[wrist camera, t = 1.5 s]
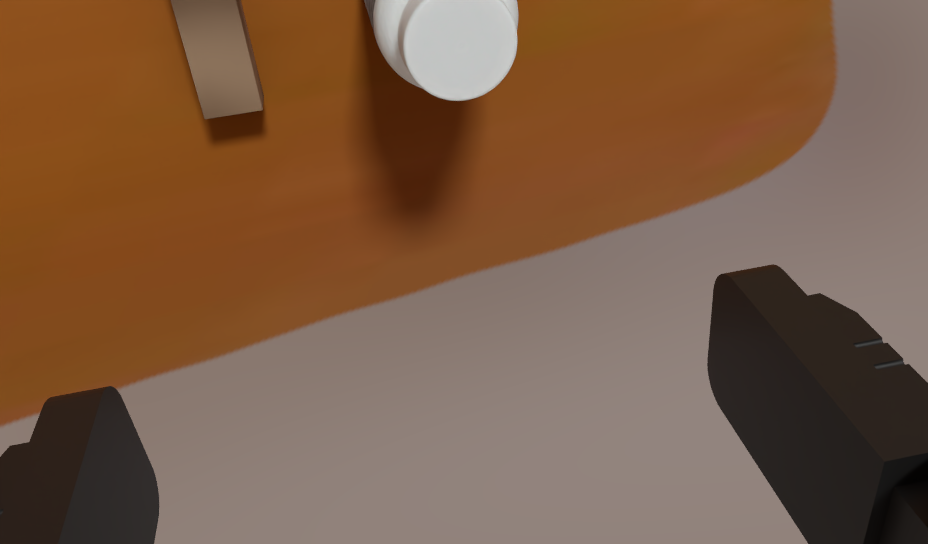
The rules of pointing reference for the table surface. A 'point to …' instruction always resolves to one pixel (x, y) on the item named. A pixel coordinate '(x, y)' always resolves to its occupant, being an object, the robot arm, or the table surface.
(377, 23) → the pill bottle
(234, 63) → the bar
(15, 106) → the table surface
